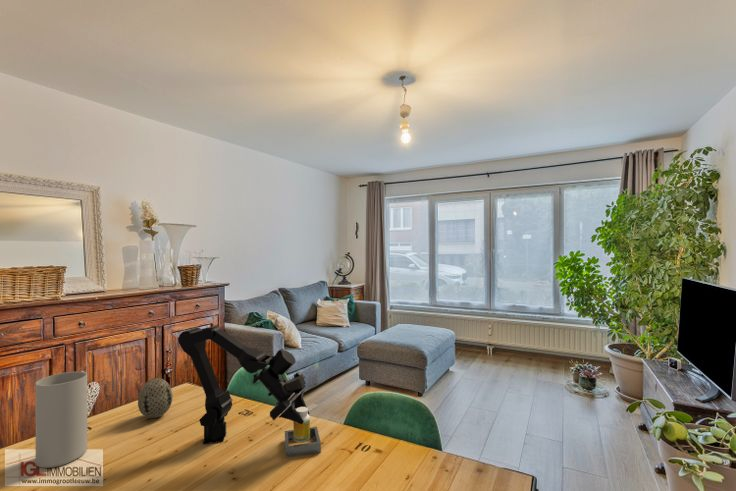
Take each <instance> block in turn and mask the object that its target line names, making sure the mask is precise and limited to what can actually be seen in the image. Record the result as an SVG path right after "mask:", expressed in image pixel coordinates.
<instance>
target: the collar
mask: <svg viewBox="0 0 736 491" xmlns="http://www.w3.org/2000/svg"><path fill="white" fill-rule="evenodd" d="M293 435H294V429H290V430H284V450H285V458H286V459H287V458H293V457H300V456H306V455H312V454H318V453H319V454H320V453H322V442H321V439H320V434H319V430H318V427H317V426H312V427H311V426H310V438H314V441H313V442H308V443H300V444H294V445H293V444H292V445H290V444H289V442H290V441H294V437H293ZM310 438H309V439H310Z"/></svg>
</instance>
